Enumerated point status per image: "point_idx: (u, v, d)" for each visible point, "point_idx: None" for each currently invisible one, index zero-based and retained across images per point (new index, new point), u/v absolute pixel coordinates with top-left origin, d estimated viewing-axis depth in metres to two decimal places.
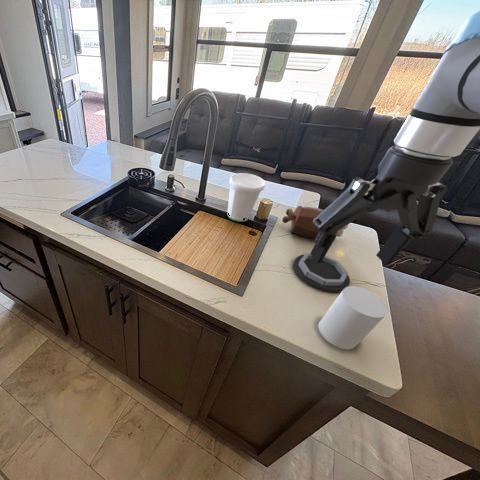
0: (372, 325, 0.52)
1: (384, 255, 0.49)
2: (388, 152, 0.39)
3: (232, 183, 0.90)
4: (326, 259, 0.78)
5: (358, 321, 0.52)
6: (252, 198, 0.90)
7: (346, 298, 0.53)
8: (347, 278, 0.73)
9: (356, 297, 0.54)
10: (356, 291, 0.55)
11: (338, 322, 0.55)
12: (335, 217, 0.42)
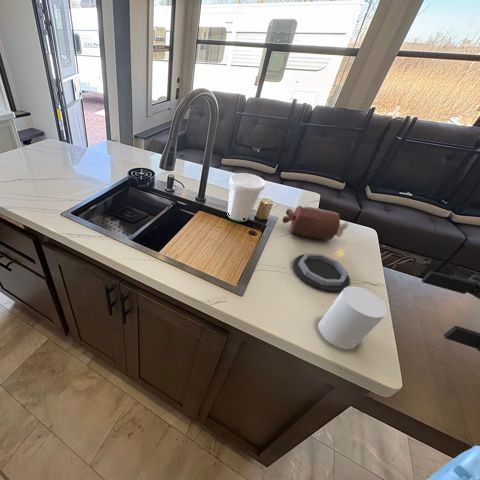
0: (372, 325, 0.52)
1: None
2: None
3: (232, 183, 0.90)
4: (326, 259, 0.78)
5: (357, 321, 0.52)
6: (252, 198, 0.90)
7: (346, 298, 0.53)
8: (347, 278, 0.73)
9: (356, 297, 0.54)
10: (356, 291, 0.55)
11: (338, 322, 0.55)
12: None
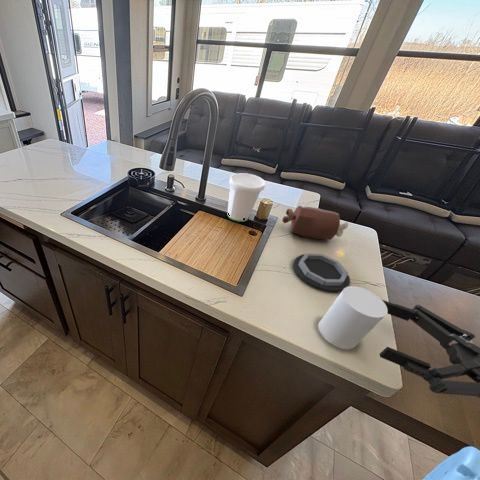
0: (372, 325, 0.52)
1: None
2: None
3: (232, 183, 0.90)
4: (326, 259, 0.78)
5: (358, 321, 0.52)
6: (252, 198, 0.90)
7: (346, 298, 0.53)
8: (347, 278, 0.73)
9: (356, 297, 0.54)
10: (356, 291, 0.55)
11: (338, 322, 0.55)
12: (434, 314, 0.56)
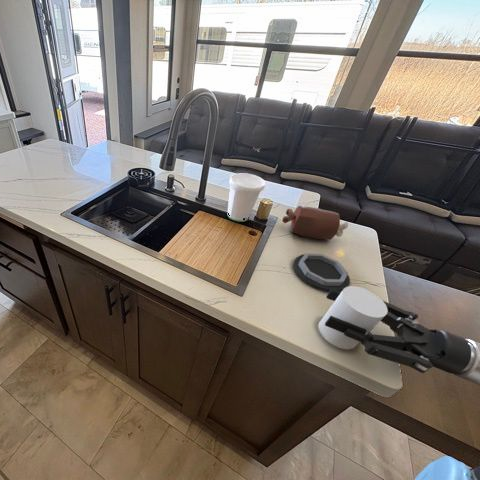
0: (372, 325, 0.52)
1: None
2: None
3: (232, 183, 0.90)
4: (326, 259, 0.78)
5: (358, 321, 0.52)
6: (252, 198, 0.90)
7: (346, 298, 0.53)
8: (347, 278, 0.73)
9: (356, 297, 0.54)
10: (356, 291, 0.55)
11: None
12: None
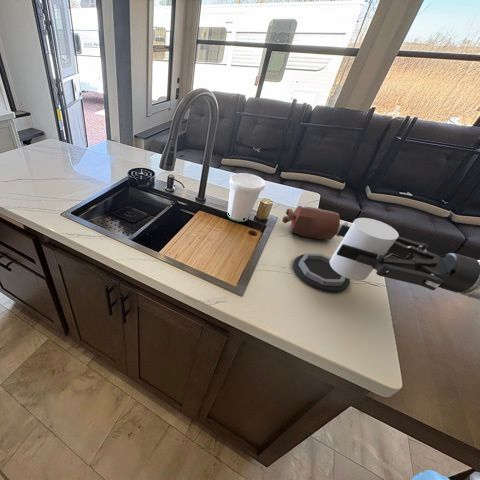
0: (383, 249, 0.53)
1: None
2: None
3: (232, 183, 0.90)
4: (326, 259, 0.78)
5: (369, 245, 0.53)
6: (252, 198, 0.90)
7: (358, 226, 0.55)
8: (347, 278, 0.73)
9: (367, 225, 0.55)
10: (367, 221, 0.57)
11: None
12: None
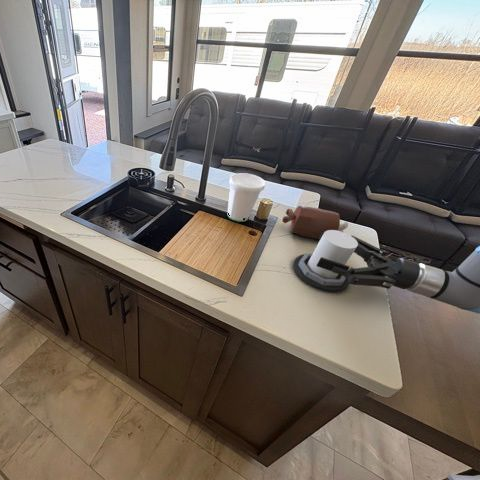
0: (346, 256, 0.67)
1: None
2: None
3: (232, 183, 0.90)
4: None
5: (335, 253, 0.67)
6: (252, 198, 0.90)
7: (326, 237, 0.69)
8: None
9: (334, 236, 0.69)
10: (335, 232, 0.70)
11: (320, 257, 0.70)
12: (361, 241, 0.74)
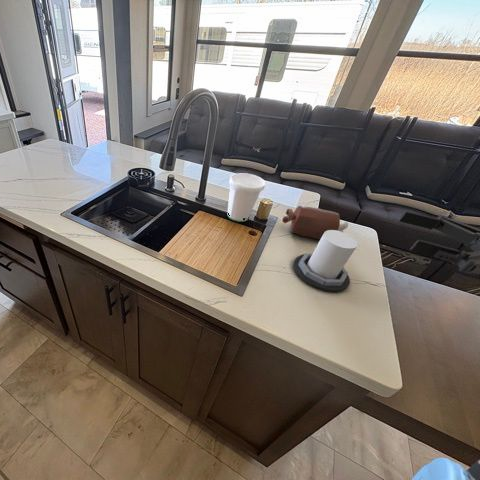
0: (346, 256, 0.67)
1: None
2: None
3: (232, 183, 0.90)
4: None
5: (335, 253, 0.67)
6: (252, 198, 0.90)
7: (326, 237, 0.69)
8: (347, 278, 0.73)
9: (334, 236, 0.69)
10: (335, 232, 0.70)
11: (320, 257, 0.70)
12: (456, 221, 0.60)
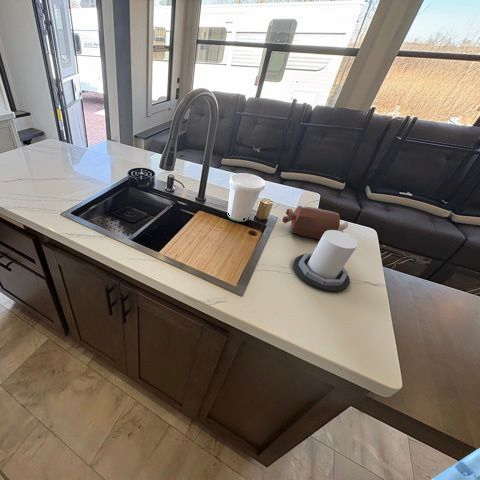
0: (346, 256, 0.67)
1: None
2: None
3: (232, 183, 0.90)
4: None
5: (335, 253, 0.67)
6: (252, 198, 0.90)
7: (326, 237, 0.69)
8: (347, 278, 0.73)
9: (334, 236, 0.69)
10: (335, 232, 0.70)
11: (320, 257, 0.70)
12: None
